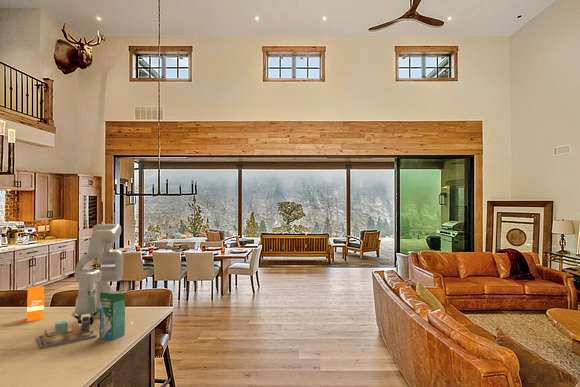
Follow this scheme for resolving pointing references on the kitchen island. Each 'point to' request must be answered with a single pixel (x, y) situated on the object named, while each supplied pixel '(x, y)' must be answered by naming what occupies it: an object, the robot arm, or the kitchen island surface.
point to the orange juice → (35, 303)
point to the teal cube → (61, 327)
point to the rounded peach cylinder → (76, 329)
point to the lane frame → (62, 341)
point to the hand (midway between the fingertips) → (85, 325)
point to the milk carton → (112, 315)
